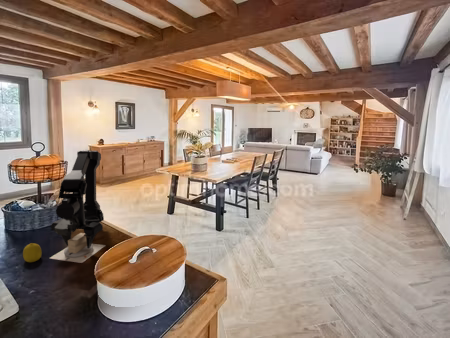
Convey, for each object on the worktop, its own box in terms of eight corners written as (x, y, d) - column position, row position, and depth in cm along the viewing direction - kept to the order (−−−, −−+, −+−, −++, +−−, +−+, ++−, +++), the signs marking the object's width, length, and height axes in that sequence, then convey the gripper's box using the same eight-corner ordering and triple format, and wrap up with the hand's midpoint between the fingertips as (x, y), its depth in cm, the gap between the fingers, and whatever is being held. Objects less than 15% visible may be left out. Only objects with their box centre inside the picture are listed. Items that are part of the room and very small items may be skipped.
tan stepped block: (77, 243, 108) (76, 230, 107) (98, 246, 107) (97, 233, 106) (58, 255, 99) (56, 241, 98) (81, 258, 97) (79, 244, 96)
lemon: (32, 268, 93) (30, 247, 92) (20, 265, 94) (17, 245, 93) (46, 260, 99) (44, 240, 97) (34, 258, 100) (31, 239, 98)
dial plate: (76, 244, 111) (76, 241, 111) (106, 248, 109) (105, 245, 108) (49, 261, 98) (49, 257, 97) (82, 266, 95) (81, 262, 95)
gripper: (36, 214, 93) (40, 253, 96) (82, 219, 90) (85, 260, 93) (61, 204, 104) (64, 240, 107) (102, 208, 101) (104, 245, 104)
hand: (78, 246), depth 102 cm, fingers open, 9 cm apart
